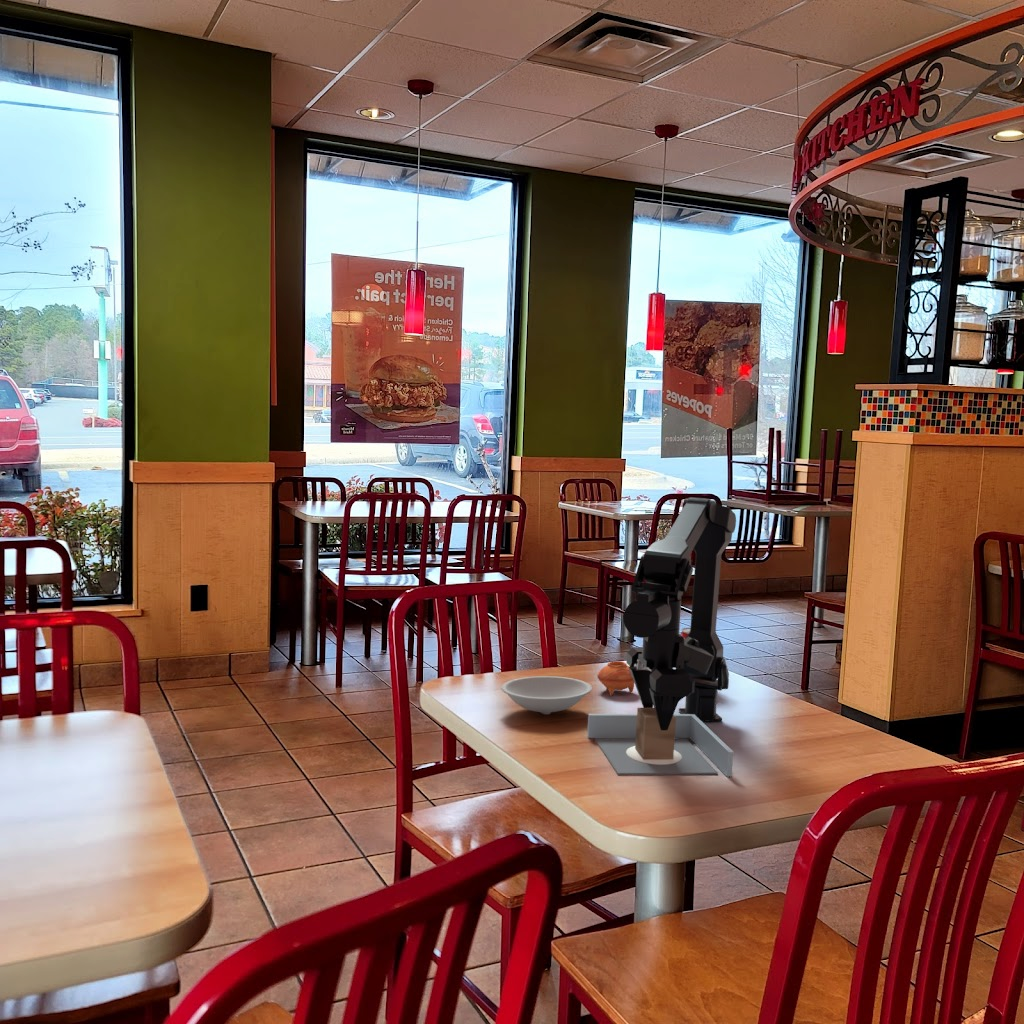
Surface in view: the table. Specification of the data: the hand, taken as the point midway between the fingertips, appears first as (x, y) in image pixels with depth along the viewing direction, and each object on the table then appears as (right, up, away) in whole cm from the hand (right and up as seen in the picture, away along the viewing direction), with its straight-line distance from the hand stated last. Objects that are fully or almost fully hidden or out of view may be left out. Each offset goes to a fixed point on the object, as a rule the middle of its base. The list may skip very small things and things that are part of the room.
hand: (655, 720), depth 156 cm
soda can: (+14, -3, +44) cm, 46 cm away
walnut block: (0, -6, +1) cm, 6 cm away
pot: (-2, -3, +38) cm, 38 cm away
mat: (0, -6, +1) cm, 6 cm away
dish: (-17, -3, +21) cm, 28 cm away
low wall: (0, -6, +1) cm, 6 cm away
